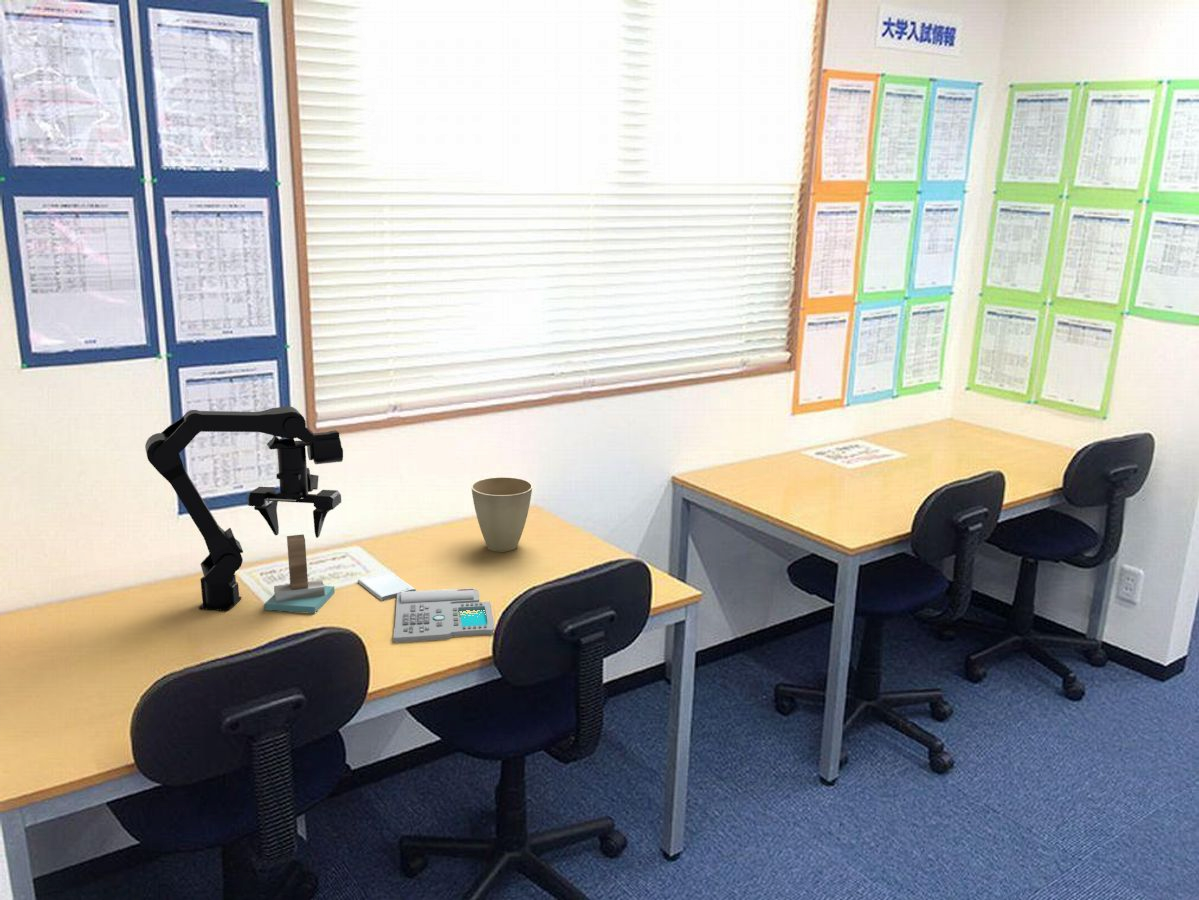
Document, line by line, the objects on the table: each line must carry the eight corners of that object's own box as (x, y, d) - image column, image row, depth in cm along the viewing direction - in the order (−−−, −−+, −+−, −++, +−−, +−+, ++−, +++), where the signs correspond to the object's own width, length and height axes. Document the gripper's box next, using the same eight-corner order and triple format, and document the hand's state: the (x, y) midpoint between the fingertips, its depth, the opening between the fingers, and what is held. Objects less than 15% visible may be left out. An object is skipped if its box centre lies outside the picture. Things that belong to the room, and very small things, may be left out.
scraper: (324, 595, 213) (321, 538, 210) (275, 601, 209) (271, 543, 206) (322, 588, 217) (319, 532, 213) (274, 594, 213) (270, 537, 210)
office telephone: (395, 586, 217) (487, 581, 220) (396, 597, 218) (488, 592, 221) (393, 631, 195) (495, 625, 198) (393, 643, 195) (495, 637, 199)
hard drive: (416, 588, 219) (390, 570, 229) (381, 597, 214) (357, 578, 224) (416, 595, 220) (391, 577, 229) (381, 604, 215) (357, 585, 224)
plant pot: (459, 549, 245) (458, 487, 241) (498, 532, 257) (497, 473, 253) (507, 562, 237) (506, 498, 233) (544, 544, 249) (544, 483, 245)
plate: (264, 610, 209) (264, 603, 208) (286, 589, 219) (285, 583, 219) (315, 613, 208) (314, 607, 207) (334, 592, 218) (334, 586, 218)
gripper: (348, 458, 218) (352, 525, 222) (266, 454, 220) (271, 521, 224) (329, 472, 207) (333, 543, 211) (243, 468, 209) (249, 538, 213)
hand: (297, 535), depth 215 cm, fingers open, 9 cm apart
